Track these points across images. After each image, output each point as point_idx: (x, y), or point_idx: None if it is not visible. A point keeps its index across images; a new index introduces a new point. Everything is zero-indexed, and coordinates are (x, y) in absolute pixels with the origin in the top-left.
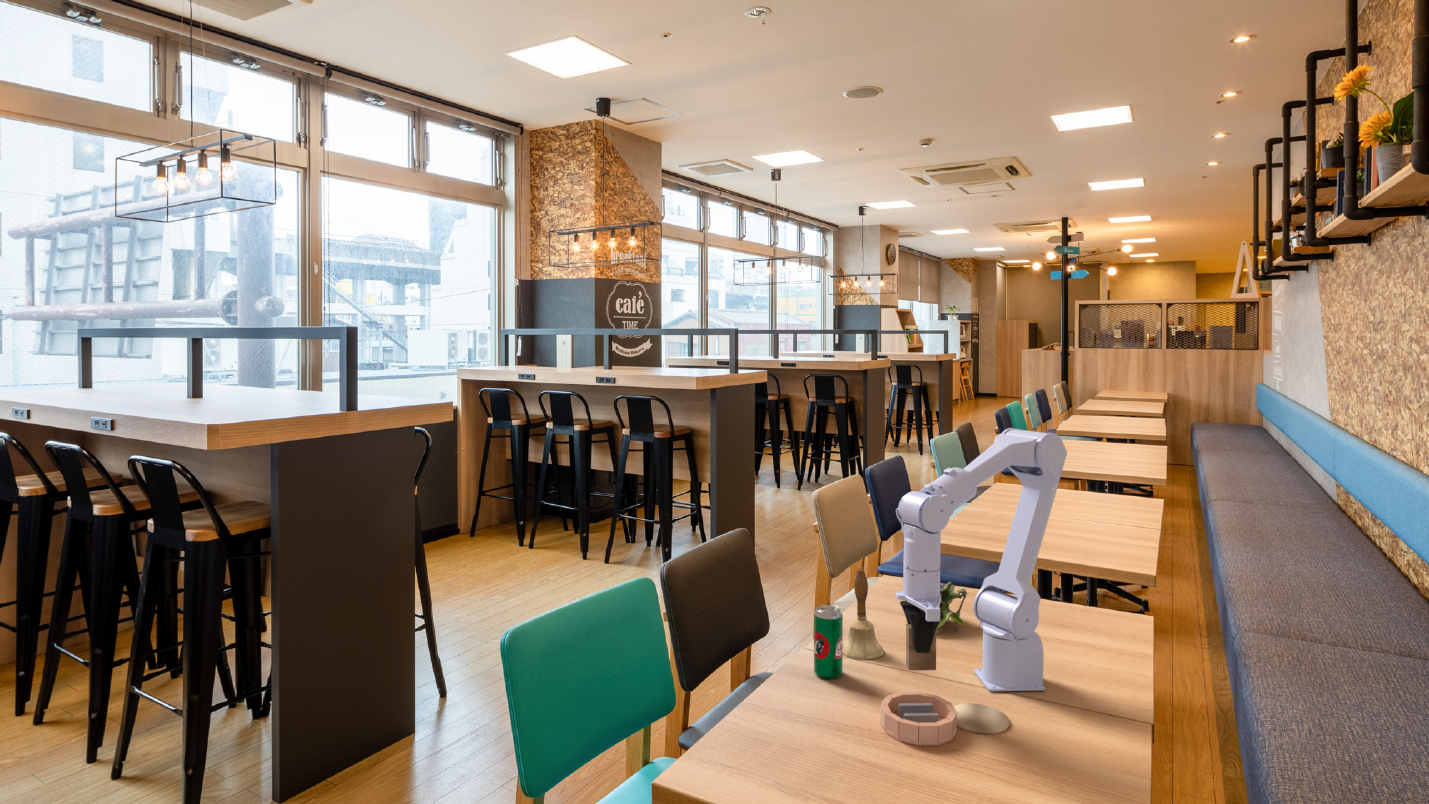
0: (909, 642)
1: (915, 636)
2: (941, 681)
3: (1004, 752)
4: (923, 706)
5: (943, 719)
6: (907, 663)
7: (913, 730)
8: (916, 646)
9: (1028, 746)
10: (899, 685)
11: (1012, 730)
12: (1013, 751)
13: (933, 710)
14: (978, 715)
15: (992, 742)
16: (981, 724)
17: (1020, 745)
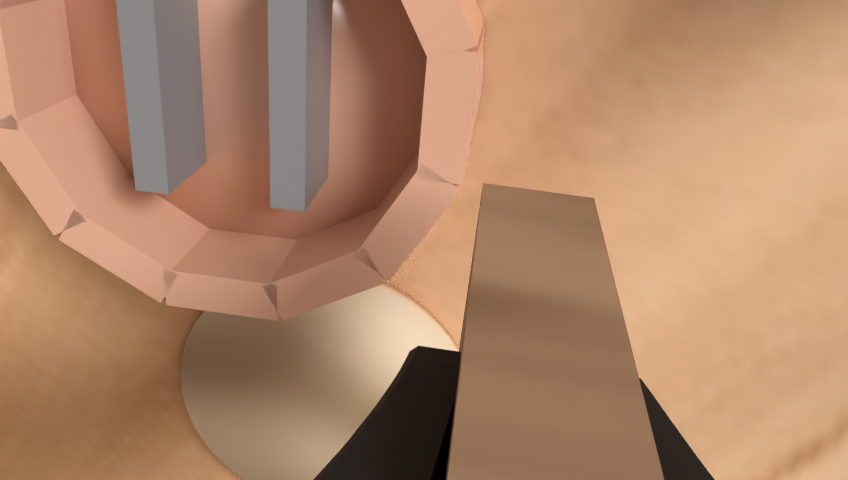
0: (465, 350)
1: (320, 478)
2: (797, 413)
3: (34, 361)
4: (271, 142)
5: (60, 190)
6: (535, 209)
7: None
8: (388, 388)
9: (95, 465)
10: (841, 151)
11: (224, 474)
12: (47, 397)
13: (372, 213)
14: (339, 409)
15: (114, 355)
16: (249, 382)
17: (99, 443)
